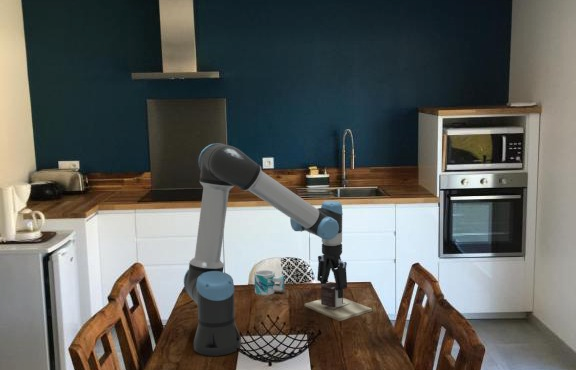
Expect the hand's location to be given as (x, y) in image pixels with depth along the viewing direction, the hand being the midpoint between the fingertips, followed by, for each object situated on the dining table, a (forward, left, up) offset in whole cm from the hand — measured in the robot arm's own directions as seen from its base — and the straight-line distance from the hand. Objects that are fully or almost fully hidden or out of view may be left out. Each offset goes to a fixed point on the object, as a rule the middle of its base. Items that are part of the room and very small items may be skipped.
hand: (332, 303), depth 224 cm
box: (0, 0, -1) cm, 1 cm away
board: (+3, 0, -3) cm, 4 cm away
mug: (-6, +32, -3) cm, 33 cm away
